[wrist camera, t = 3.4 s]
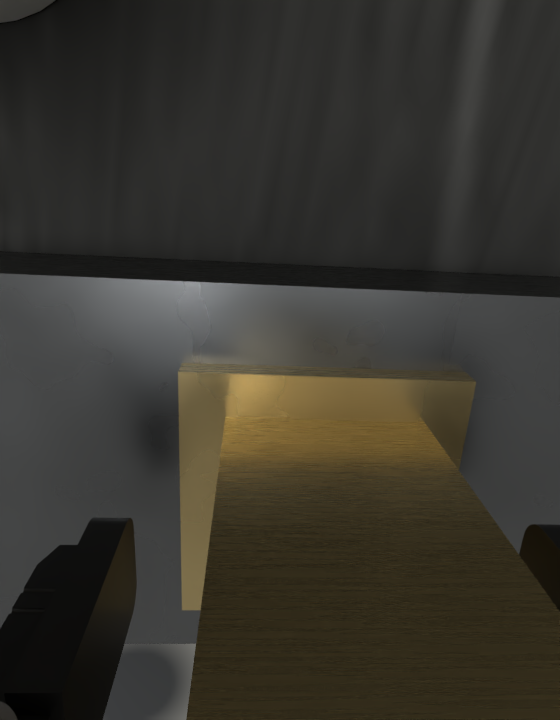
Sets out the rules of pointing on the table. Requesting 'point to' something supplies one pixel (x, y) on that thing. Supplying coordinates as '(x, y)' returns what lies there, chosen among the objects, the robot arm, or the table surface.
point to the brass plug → (350, 553)
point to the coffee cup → (20, 8)
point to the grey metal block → (245, 347)
